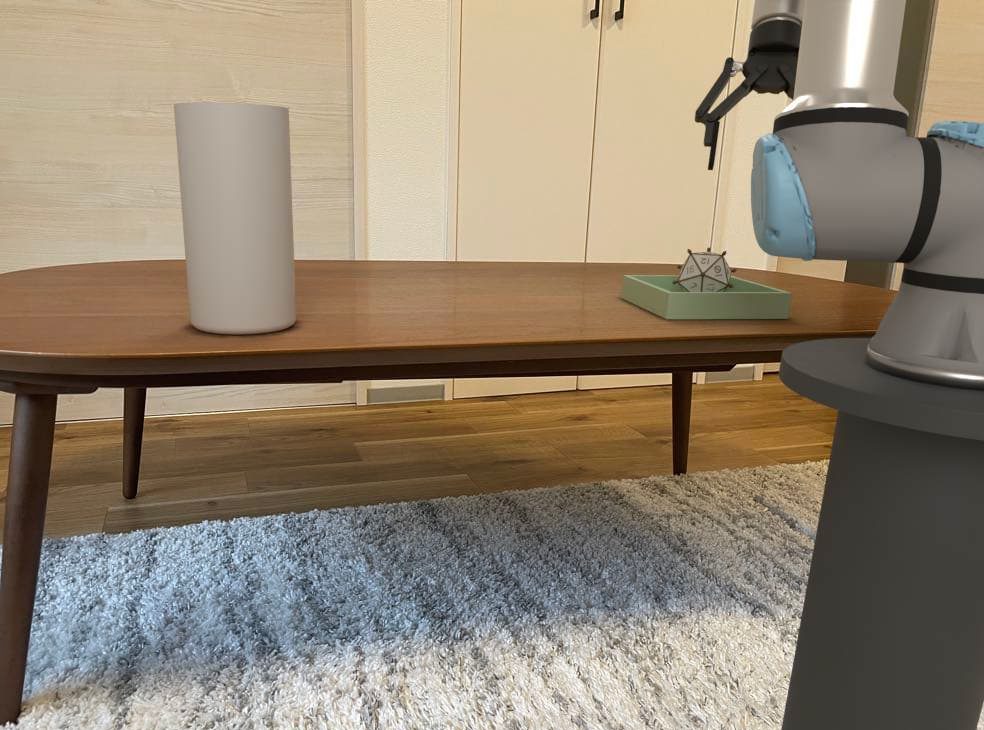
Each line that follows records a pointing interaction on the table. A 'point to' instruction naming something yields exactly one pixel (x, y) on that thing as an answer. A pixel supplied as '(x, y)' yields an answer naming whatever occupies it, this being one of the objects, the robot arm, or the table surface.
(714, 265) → the game die
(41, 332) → the table surface
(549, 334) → the table surface
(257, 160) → the cylinder vase
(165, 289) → the table surface
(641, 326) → the table surface
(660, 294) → the tray
